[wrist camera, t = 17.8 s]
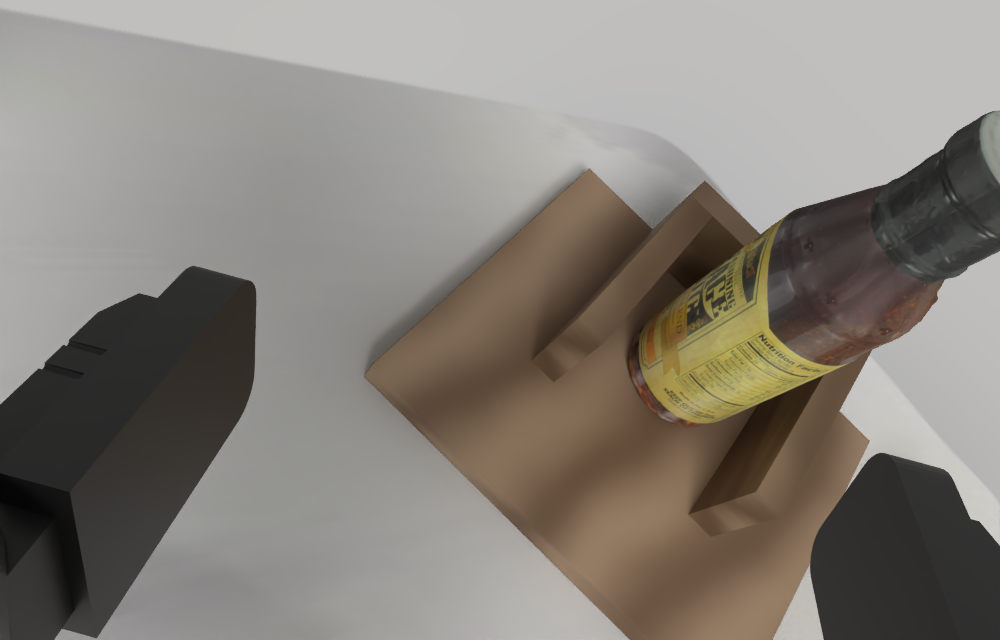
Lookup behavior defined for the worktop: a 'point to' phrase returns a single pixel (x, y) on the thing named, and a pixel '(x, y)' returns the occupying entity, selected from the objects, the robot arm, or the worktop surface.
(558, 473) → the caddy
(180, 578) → the worktop surface
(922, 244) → the sauce bottle
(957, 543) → the robot arm
